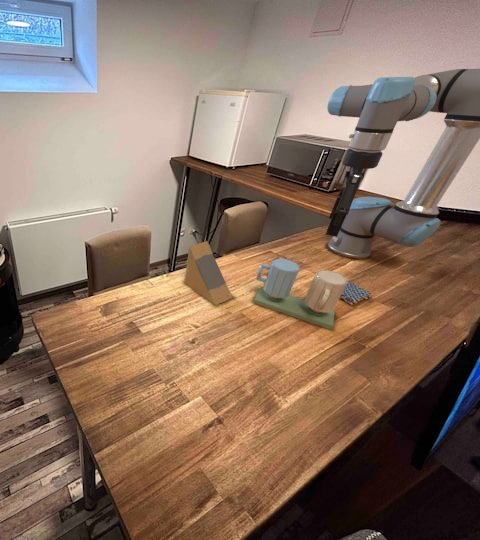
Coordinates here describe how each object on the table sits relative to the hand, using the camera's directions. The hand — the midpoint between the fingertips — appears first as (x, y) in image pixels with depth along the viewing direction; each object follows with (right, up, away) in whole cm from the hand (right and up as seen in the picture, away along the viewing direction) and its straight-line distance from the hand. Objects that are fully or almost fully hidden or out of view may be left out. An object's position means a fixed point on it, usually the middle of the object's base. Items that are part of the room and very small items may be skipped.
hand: (332, 226), depth 85 cm
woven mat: (+15, -21, +15) cm, 30 cm away
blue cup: (-13, -19, +9) cm, 25 cm away
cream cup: (-3, -24, +2) cm, 24 cm away
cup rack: (-7, -25, +8) cm, 27 cm away
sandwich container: (-32, -20, +17) cm, 41 cm away
